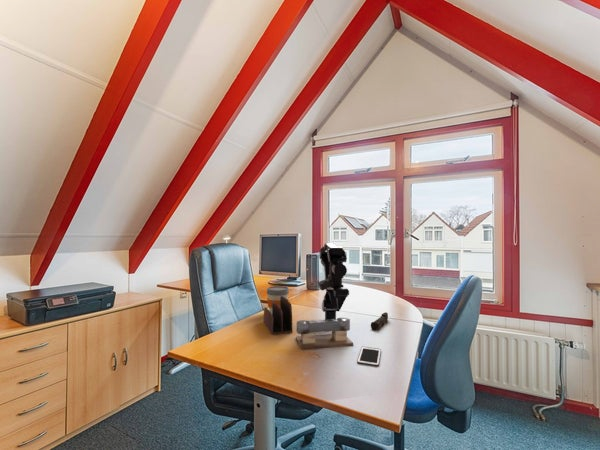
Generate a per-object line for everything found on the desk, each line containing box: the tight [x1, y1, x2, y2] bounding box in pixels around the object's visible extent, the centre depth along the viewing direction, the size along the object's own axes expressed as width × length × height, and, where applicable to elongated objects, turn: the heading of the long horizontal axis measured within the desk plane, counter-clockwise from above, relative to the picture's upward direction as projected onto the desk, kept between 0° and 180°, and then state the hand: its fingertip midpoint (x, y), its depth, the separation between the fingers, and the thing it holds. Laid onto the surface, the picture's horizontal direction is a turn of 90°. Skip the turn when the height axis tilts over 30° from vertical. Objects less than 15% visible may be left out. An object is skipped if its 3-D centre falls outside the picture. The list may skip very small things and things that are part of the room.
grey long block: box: [296, 317, 351, 335], centre depth 122 cm, size 24×6×4 cm, turn 102°
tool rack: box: [295, 331, 354, 351], centre depth 122 cm, size 12×22×5 cm, turn 102°
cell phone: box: [356, 346, 382, 368], centre depth 109 cm, size 8×15×1 cm, turn 161°
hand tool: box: [370, 311, 389, 331], centre depth 145 cm, size 19×4×5 cm, turn 142°
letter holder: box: [263, 296, 293, 336], centre depth 141 cm, size 10×20×14 cm, turn 19°
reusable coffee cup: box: [266, 285, 290, 314], centre depth 162 cm, size 13×13×15 cm
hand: (335, 306), depth 134 cm, fingers open, 9 cm apart
